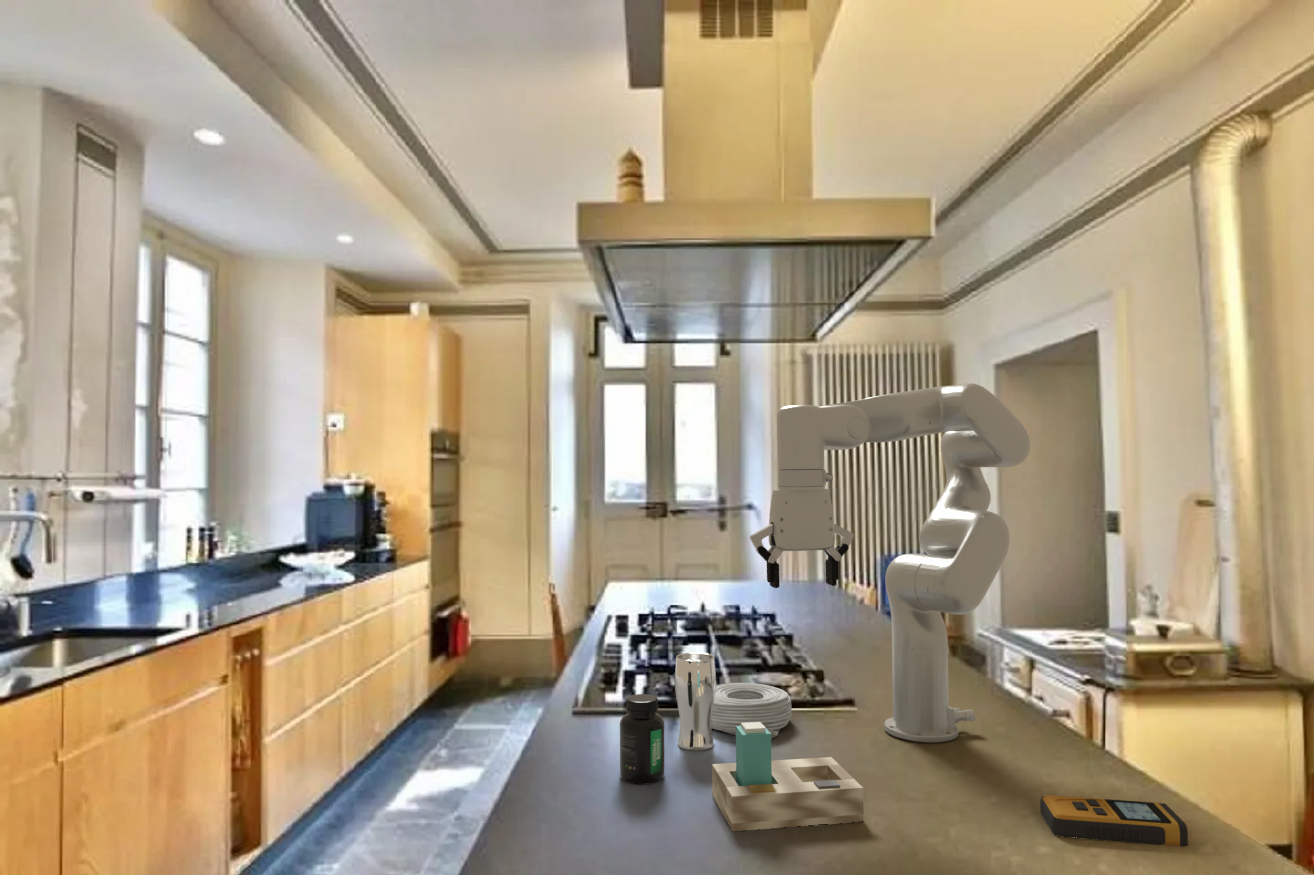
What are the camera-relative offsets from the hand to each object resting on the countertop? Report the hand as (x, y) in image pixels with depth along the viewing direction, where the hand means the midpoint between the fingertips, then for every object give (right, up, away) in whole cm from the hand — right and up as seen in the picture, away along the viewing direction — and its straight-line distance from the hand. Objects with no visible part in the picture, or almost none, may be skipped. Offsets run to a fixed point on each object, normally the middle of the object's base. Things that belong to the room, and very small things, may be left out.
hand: (803, 585), depth 136 cm
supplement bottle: (-26, -28, -8) cm, 39 cm away
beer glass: (-17, -29, +7) cm, 34 cm away
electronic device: (+35, -28, -27) cm, 52 cm away
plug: (-10, -26, -21) cm, 35 cm away
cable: (-8, -29, +19) cm, 36 cm away
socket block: (-6, -27, -20) cm, 34 cm away
